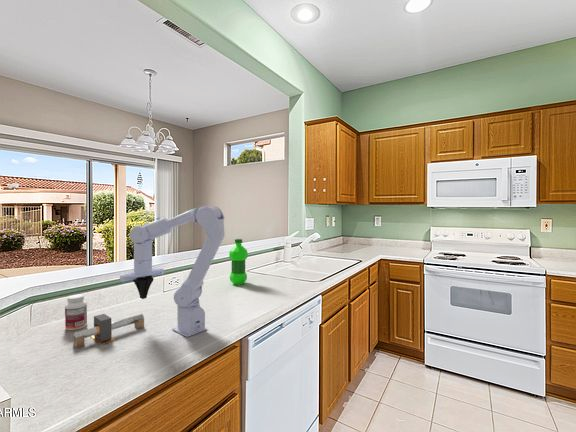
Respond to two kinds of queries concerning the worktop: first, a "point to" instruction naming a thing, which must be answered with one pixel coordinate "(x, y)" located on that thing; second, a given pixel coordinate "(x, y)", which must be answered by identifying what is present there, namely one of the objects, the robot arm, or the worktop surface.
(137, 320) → the rail
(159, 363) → the worktop surface
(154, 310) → the worktop surface
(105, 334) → the collar
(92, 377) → the worktop surface
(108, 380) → the worktop surface
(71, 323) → the pill bottle
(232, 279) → the plastic bottle
